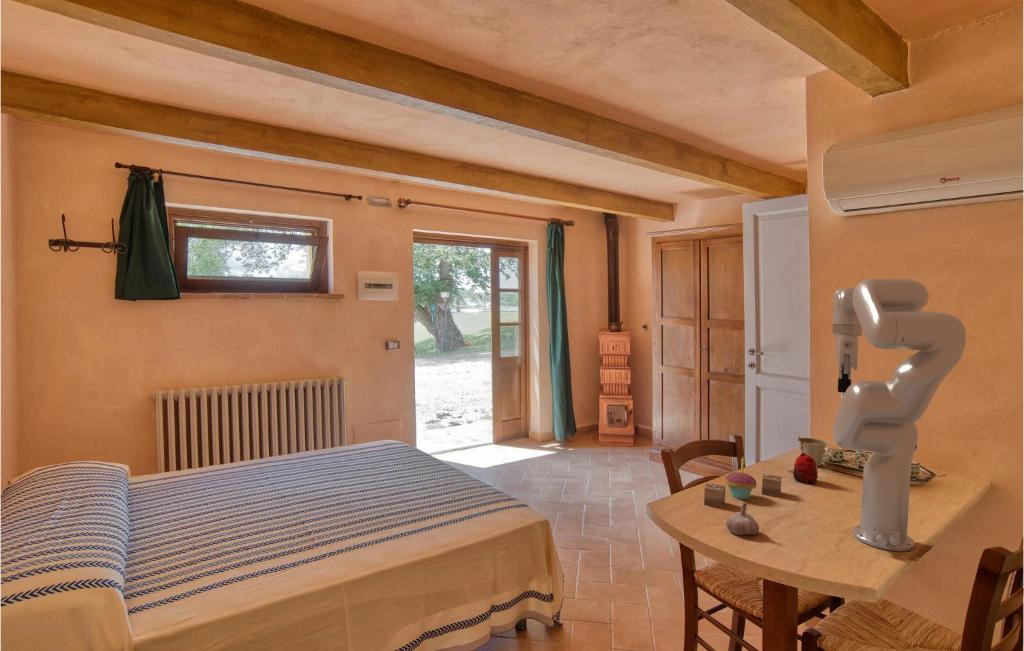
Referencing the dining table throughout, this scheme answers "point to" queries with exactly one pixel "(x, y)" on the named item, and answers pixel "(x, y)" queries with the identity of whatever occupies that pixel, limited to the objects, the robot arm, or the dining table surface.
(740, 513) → the garlic bulb
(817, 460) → the flower pot
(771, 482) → the two dot block
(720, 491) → the three dot block
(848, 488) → the dining table surface
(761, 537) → the dining table surface
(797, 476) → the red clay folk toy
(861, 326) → the robot arm
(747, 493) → the cupcake
